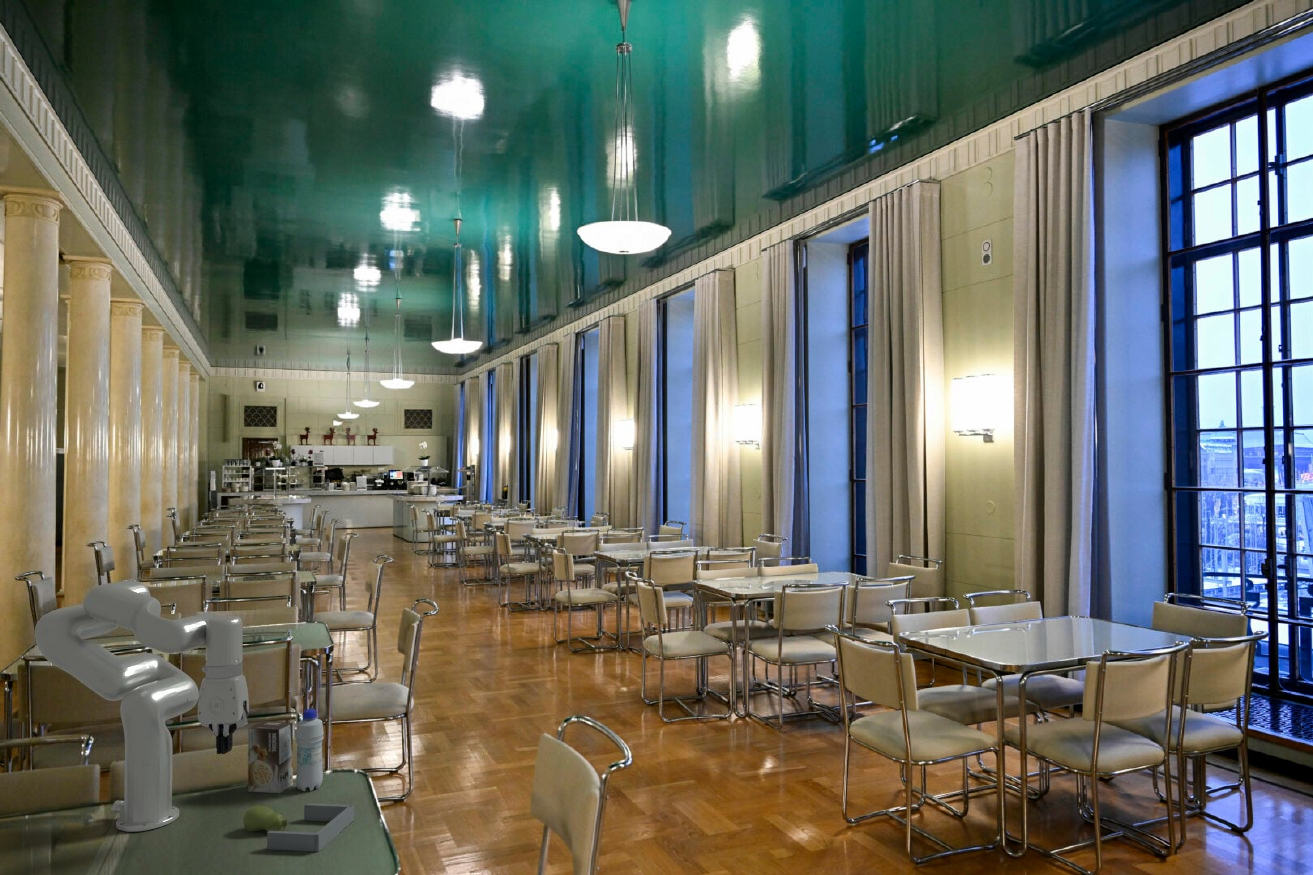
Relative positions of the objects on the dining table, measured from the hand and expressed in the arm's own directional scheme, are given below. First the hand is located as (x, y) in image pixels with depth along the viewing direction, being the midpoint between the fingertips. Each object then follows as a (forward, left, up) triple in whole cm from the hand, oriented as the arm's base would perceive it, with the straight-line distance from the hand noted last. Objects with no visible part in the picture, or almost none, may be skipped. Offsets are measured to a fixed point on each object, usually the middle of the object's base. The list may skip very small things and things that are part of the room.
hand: (224, 751), depth 193 cm
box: (+22, -1, -17) cm, 28 cm away
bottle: (+7, +25, -17) cm, 31 cm away
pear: (+10, 0, -18) cm, 20 cm away
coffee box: (-3, +24, -17) cm, 30 cm away
